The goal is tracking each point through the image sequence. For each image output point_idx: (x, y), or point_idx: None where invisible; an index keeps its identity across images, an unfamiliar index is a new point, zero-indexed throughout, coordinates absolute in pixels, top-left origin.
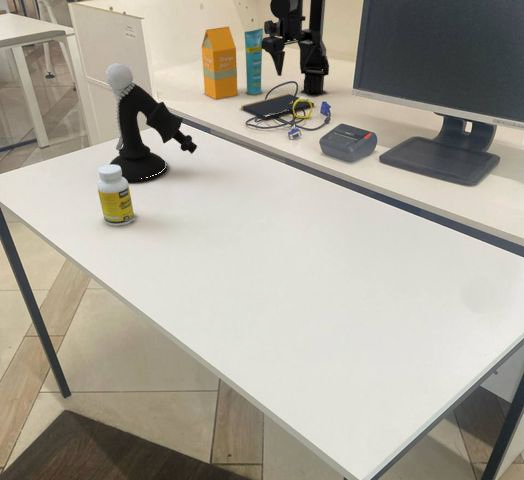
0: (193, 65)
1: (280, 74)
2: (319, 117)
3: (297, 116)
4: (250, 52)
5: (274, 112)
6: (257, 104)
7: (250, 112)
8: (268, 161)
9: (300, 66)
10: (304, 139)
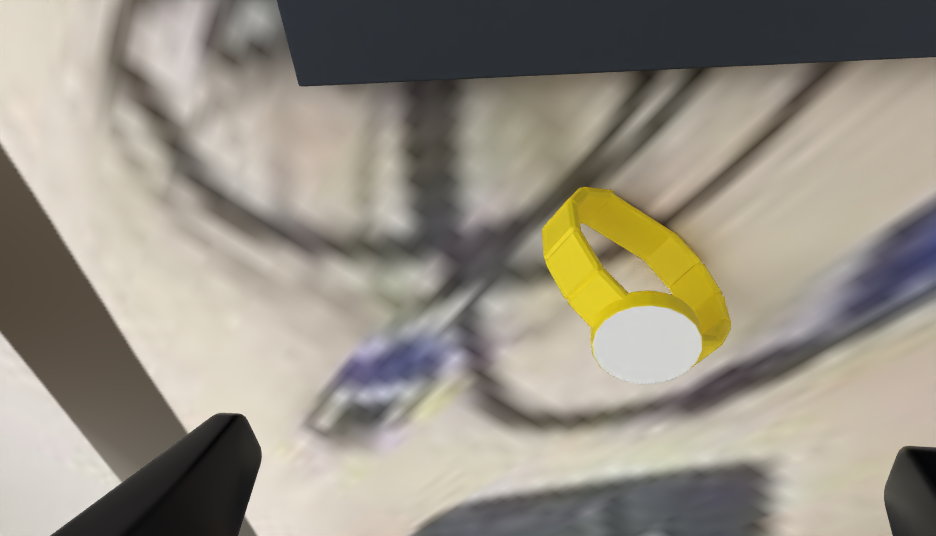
0: None
1: (238, 481)
2: (766, 300)
3: (588, 218)
4: None
5: (427, 44)
6: None
7: None
8: None
9: (931, 507)
10: (383, 463)
